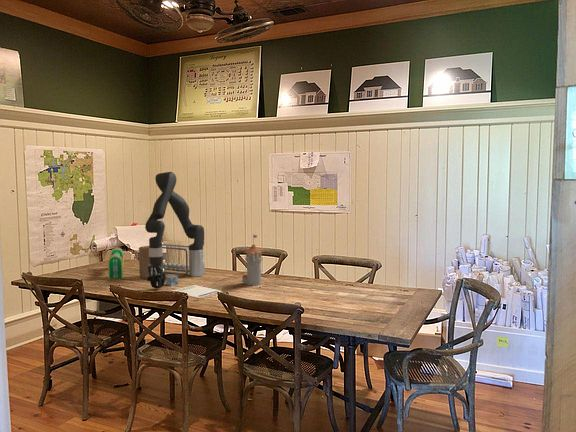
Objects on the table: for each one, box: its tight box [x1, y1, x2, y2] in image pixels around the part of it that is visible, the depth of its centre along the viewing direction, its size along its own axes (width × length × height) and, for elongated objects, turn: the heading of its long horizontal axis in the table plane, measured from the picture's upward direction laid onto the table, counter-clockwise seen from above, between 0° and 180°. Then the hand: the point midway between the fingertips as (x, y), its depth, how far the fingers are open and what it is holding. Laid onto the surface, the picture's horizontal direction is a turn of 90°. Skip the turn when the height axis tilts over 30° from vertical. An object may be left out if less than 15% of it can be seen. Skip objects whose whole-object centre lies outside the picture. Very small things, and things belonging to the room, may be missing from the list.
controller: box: [146, 273, 167, 290], centre depth 270 cm, size 4×12×10 cm, turn 149°
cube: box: [165, 274, 179, 287], centre depth 284 cm, size 5×5×5 cm
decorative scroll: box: [107, 247, 125, 280], centre depth 316 cm, size 36×8×15 cm, turn 18°
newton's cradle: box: [161, 243, 189, 276], centre depth 319 cm, size 30×10×18 cm, turn 65°
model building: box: [242, 234, 263, 286], centre depth 284 cm, size 14×12×30 cm
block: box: [138, 245, 151, 280], centre depth 303 cm, size 10×10×20 cm
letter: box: [171, 284, 223, 299], centre depth 267 cm, size 18×24×1 cm
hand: (156, 284), depth 270 cm, fingers closed on controller, 4 cm apart
